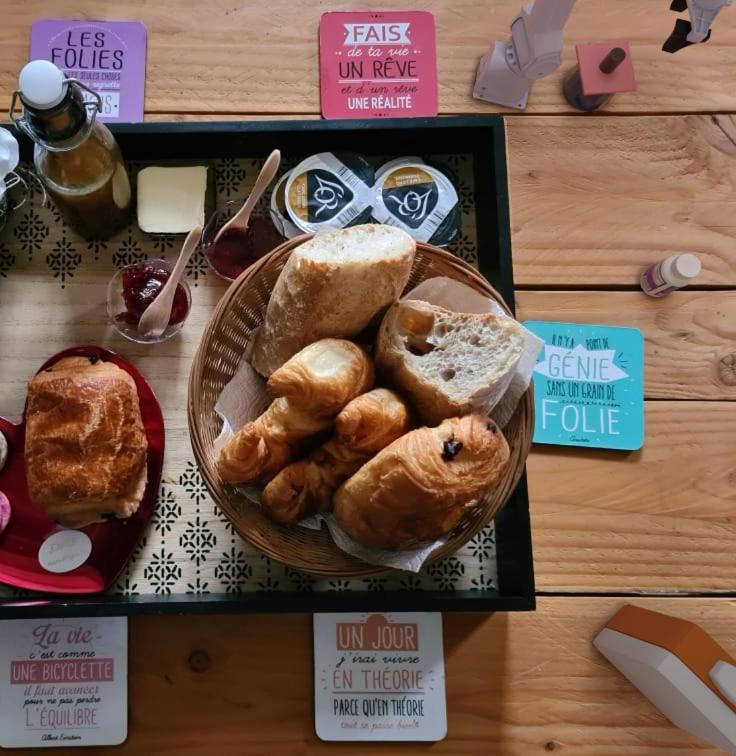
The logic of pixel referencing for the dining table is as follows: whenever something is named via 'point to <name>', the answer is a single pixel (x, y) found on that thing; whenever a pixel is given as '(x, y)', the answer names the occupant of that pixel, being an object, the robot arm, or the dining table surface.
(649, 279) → the pill bottle
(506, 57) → the robot arm
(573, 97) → the dark faceted cylinder
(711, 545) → the dining table surface
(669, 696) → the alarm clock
